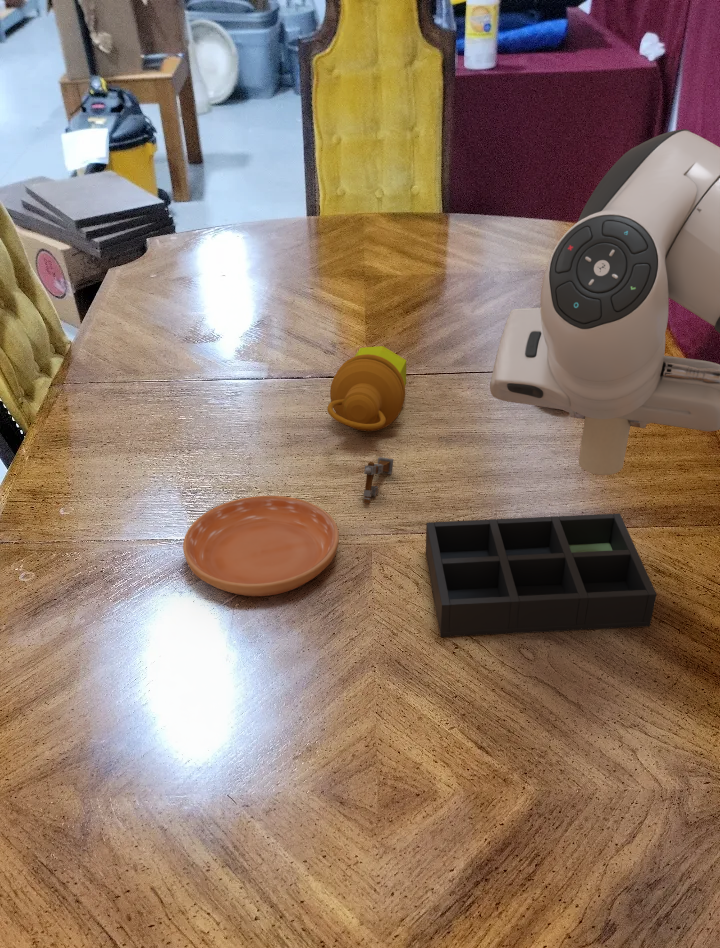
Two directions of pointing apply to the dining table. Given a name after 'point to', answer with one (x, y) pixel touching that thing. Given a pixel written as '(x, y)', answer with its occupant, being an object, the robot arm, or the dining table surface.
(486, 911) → the dining table surface
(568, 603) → the grid
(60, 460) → the dining table surface
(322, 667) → the dining table surface
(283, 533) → the saucer
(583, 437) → the cylinder
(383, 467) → the wooden post with brackets
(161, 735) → the dining table surface
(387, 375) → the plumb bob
